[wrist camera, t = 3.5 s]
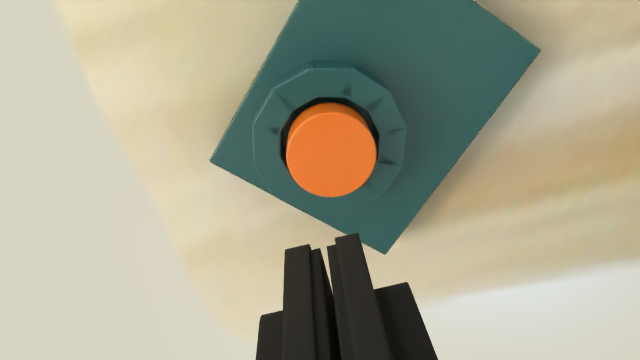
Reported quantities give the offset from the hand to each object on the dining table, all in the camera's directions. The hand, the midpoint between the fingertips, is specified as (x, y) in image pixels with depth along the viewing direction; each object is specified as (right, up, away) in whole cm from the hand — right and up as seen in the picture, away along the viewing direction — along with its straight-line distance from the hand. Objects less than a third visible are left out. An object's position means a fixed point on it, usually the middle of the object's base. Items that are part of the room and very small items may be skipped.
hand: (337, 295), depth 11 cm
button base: (+2, +7, +13) cm, 14 cm away
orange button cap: (0, +4, +10) cm, 11 cm away
